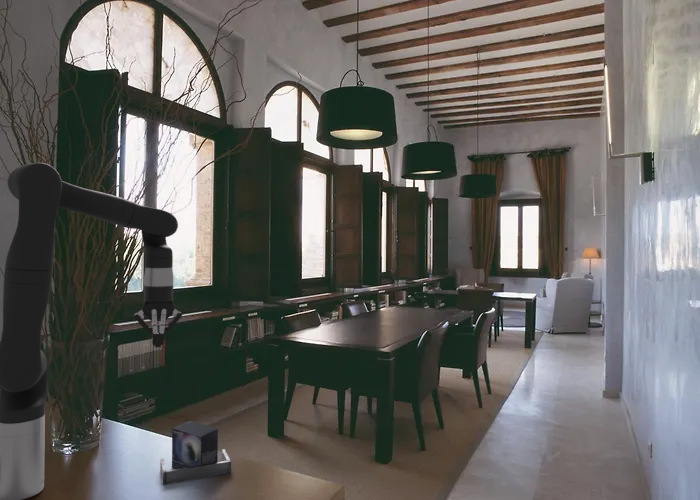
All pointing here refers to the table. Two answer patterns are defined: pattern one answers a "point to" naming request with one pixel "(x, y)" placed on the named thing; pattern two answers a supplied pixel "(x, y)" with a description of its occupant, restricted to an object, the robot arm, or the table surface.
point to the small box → (194, 445)
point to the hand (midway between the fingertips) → (158, 346)
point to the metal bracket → (196, 471)
